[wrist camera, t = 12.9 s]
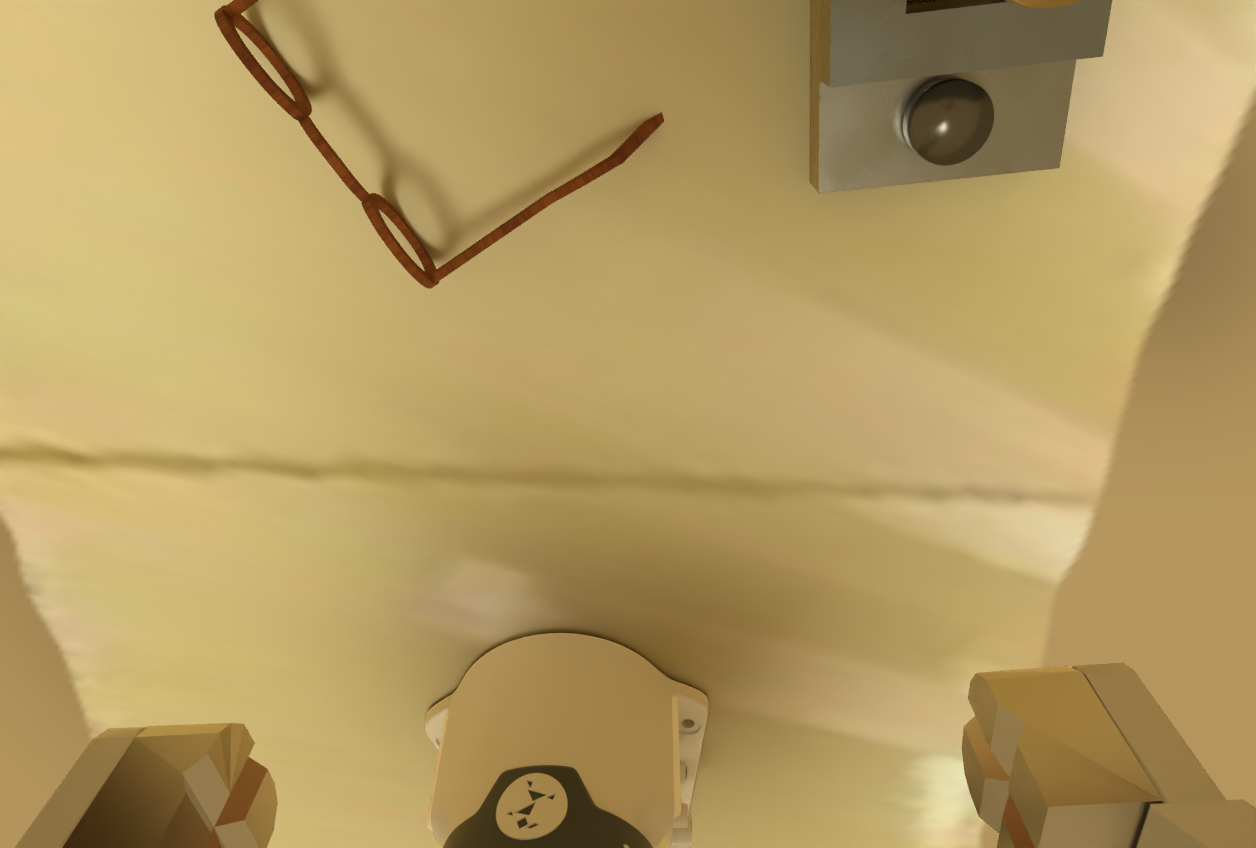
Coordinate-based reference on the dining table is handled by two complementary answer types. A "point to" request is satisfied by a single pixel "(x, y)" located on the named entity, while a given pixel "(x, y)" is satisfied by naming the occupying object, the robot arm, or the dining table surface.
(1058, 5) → the pin
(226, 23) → the glasses
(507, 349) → the dining table surface
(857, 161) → the metal plate with knobs
